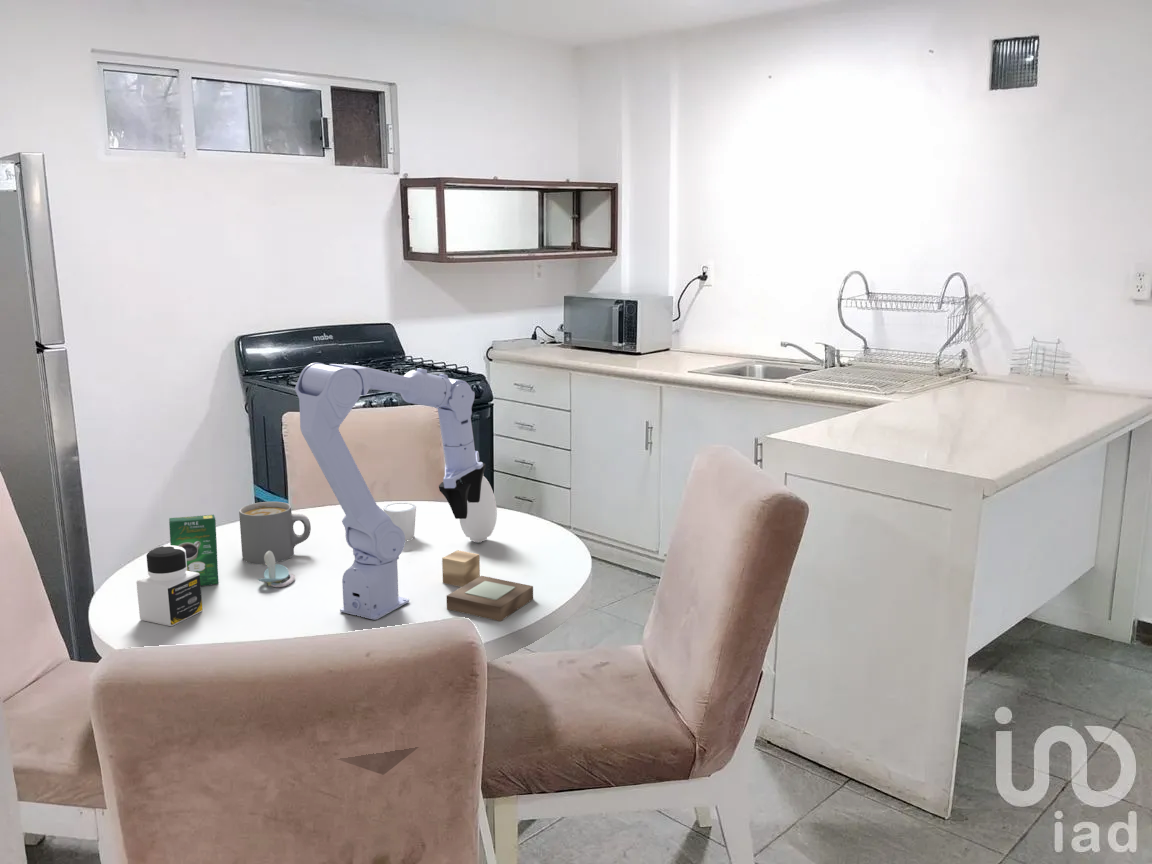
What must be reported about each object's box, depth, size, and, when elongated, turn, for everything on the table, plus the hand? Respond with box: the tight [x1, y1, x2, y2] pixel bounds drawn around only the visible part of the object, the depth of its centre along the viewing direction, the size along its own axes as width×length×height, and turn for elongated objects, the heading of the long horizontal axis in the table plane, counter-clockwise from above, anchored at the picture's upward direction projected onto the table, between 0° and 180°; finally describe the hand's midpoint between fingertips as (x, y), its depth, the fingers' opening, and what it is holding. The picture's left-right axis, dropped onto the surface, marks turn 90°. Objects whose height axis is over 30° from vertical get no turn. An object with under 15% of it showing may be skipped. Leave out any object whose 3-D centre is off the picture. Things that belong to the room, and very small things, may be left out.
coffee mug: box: [238, 501, 312, 565], centre depth 184 cm, size 13×10×10 cm
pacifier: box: [258, 551, 296, 588], centre depth 170 cm, size 7×6×6 cm
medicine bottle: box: [135, 544, 203, 627], centre depth 154 cm, size 7×7×12 cm
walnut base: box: [446, 575, 534, 622], centre depth 160 cm, size 11×11×3 cm
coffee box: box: [168, 514, 220, 587], centre depth 168 cm, size 8×3×13 cm, turn 113°
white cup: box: [383, 502, 417, 542], centre depth 196 cm, size 7×7×7 cm
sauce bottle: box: [458, 474, 498, 543], centre depth 193 cm, size 8×8×18 cm
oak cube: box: [441, 549, 481, 588], centre depth 171 cm, size 5×5×5 cm
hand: (467, 509), depth 172 cm, fingers open, 7 cm apart
